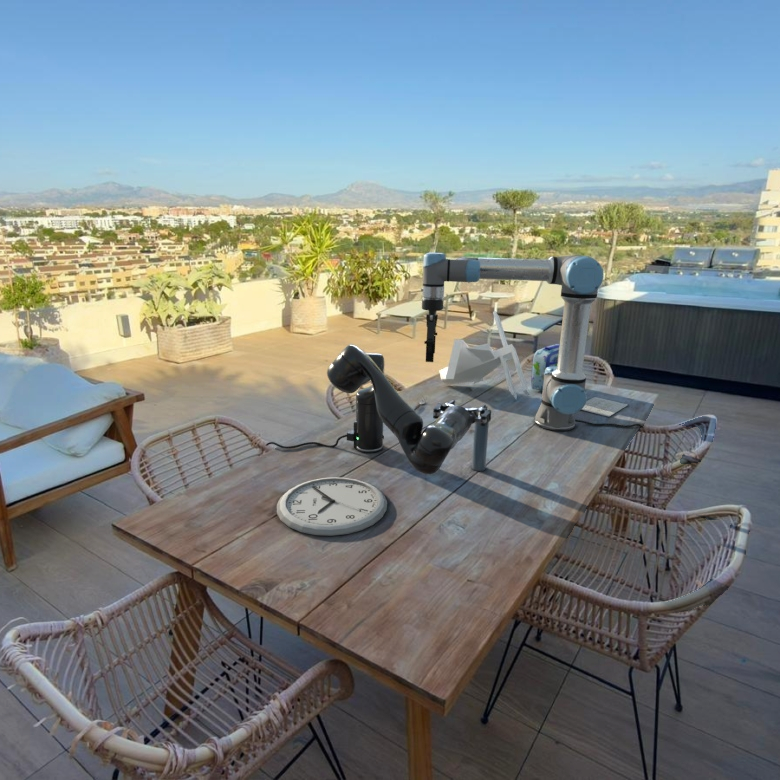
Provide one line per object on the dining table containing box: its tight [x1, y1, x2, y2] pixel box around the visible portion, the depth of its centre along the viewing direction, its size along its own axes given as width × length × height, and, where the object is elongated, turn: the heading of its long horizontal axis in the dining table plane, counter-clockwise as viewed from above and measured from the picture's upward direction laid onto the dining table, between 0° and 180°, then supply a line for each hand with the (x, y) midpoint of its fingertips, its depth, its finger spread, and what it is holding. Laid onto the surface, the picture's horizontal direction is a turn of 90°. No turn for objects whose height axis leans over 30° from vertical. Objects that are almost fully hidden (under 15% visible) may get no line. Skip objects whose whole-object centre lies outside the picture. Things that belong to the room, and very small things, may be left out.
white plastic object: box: [438, 310, 531, 400], centre depth 245 cm, size 37×45×31 cm
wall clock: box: [276, 476, 388, 537], centre depth 142 cm, size 30×2×30 cm
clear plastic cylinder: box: [471, 422, 490, 472], centre depth 164 cm, size 4×4×18 cm
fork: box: [413, 396, 428, 412], centre depth 222 cm, size 3×16×2 cm, turn 160°
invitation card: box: [580, 396, 629, 418], centre depth 226 cm, size 21×1×15 cm
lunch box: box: [530, 343, 560, 392], centre depth 248 cm, size 26×11×21 cm, turn 134°
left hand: (468, 405), depth 141 cm, fingers open, 8 cm apart
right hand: (430, 357), depth 190 cm, fingers open, 13 cm apart
